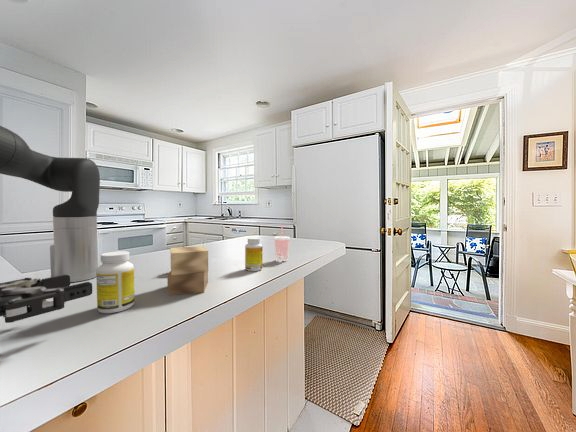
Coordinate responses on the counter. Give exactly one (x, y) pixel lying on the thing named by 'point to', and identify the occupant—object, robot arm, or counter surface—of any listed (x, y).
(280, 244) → the beverage cup
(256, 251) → the supplement bottle
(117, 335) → the counter surface
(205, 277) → the lower block
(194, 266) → the upper block
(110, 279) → the pill bottle
